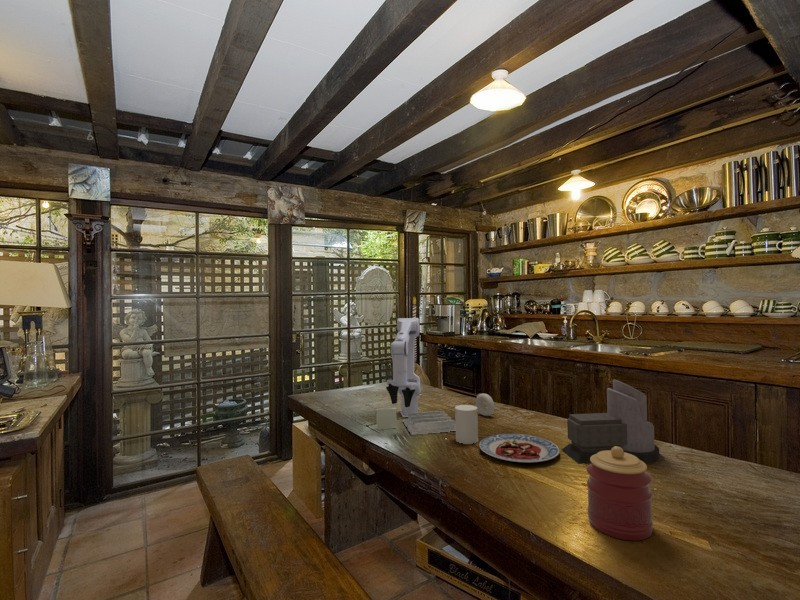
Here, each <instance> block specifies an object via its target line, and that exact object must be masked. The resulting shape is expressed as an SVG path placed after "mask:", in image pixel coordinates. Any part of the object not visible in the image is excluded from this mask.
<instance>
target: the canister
mask: <svg viewBox="0 0 800 600" xmlns="http://www.w3.org/2000/svg"><path fill="white" fill-rule="evenodd" d="M590 461H591V463H588V465H587V466H586V472H587V474H588V479H587V480H586V486H587V508H586V509H587V516H588V521H589V523H590V524H591V526H593V528H595V530H597V531H599V532H601V533H602V534H604V535H606V536H608V537H612V538H614V539H615V538H616V539H618V540H619V539H620V540H623V541H634V542H635V541H641V540H646V539H648V538H650V537H651V536H652V533H653V529H654V520H653V511H652V510H653V507H652V505H653V504H652V503H653V502H652V501H653V500H652V498H653V492H652V489H650V484H651V483H652V481H653V478H652V475H651V474H650V473H649V472H648V471H647V469H648V465H647V464H645V463H644V462H643V461H641V460H639V459H638V458H637V457H636V456H634V455H632V454H629V453H626V452H624V451H623V449H622V448H621V447H618V446H615V447H613V448H612V449H611V450H606V451H600V452H598V453H597V454H594V455H592V456H591V457H590Z"/></svg>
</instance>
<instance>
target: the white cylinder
mask: <svg viewBox="0 0 800 600" xmlns="http://www.w3.org/2000/svg"><path fill="white" fill-rule="evenodd" d="M454 418H455V419H454V420H455V429H456V432H455V442H457V443H458V442H459V444H461V443H463V444H462V445H472V444H473V443H474V444H476V442H477V443H478V442H479V423H478V421H479V420H478V419H479V418H478V410H477V407H476V405H471V404H460V405H459V404H458V405H456V406H455V407H454Z"/></svg>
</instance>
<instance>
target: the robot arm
mask: <svg viewBox="0 0 800 600" xmlns="http://www.w3.org/2000/svg"><path fill="white" fill-rule="evenodd" d="M396 321H397V322H396V329H397V331H398V332H397V333H396V336H395V338H394V341H393V342H391V343H390V354H391V360H392V379H387V380H386V386H385V387H386V388H385V389H386V390H387V392H388V394H389V397H390V401H391V404H392V405H396V404H398V395H400V396H401V398H400V399H401V400H400V401H401V410H399V413H400V415H401V416H402V418H408V413H418V412H419V401H418V400H419V399H418V397H419V396H418V395H420V394H421V392H422V387H421V386H422V385H421V384H422V383H421V378H420V376H419V375H417V374H416V373H415V343H416V342H415V341H416V338H417V337H419V336H420V325H421V324H420V318H419V317H409V318H408V317H406V318H405V317H402V318H401V317H398V318H397V320H396Z"/></svg>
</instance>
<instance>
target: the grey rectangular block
mask: <svg viewBox="0 0 800 600" xmlns="http://www.w3.org/2000/svg"><path fill="white" fill-rule="evenodd" d="M375 411H376V412H375V413H376V415H375V417H376V418H375V419H376V430H377V431H379V430H378V429H383V430H391V429H390V428H396V429H398V426H397V422H398V421H397V407H386V408H385V407H384V408H383V407H382V408H376V409H375Z"/></svg>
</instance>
